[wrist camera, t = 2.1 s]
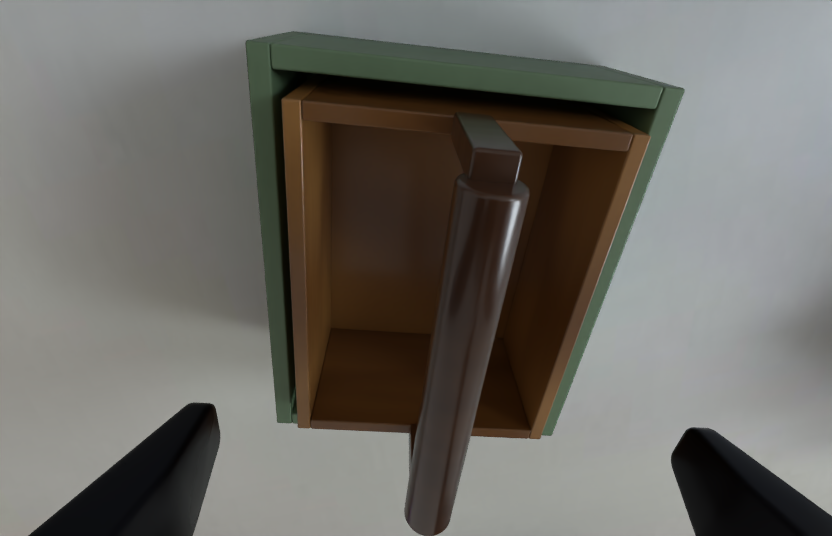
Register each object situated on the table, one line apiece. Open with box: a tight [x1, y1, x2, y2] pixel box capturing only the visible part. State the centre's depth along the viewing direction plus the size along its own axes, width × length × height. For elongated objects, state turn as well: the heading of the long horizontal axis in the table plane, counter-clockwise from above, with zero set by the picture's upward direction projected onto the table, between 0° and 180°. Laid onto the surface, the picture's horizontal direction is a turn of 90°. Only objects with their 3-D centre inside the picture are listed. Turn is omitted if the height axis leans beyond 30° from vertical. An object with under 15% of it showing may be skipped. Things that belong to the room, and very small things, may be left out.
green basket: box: [246, 31, 685, 436], centre depth 14 cm, size 12×10×4 cm
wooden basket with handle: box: [281, 74, 651, 536], centre depth 12 cm, size 10×8×8 cm
